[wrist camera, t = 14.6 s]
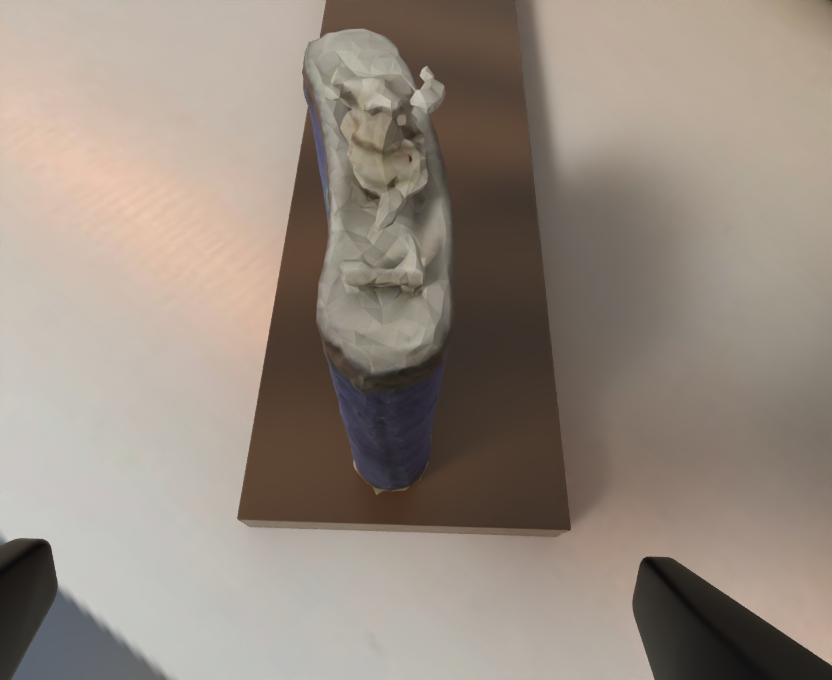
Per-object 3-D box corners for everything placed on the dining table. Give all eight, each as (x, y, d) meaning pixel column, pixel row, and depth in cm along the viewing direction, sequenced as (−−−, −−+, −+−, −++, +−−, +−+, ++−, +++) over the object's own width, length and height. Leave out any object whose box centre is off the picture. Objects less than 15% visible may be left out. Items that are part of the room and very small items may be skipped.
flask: (331, 254, 20) (284, -68, 11) (407, 248, 20) (429, -70, 11) (351, 501, 16) (305, 339, 6) (447, 489, 16) (536, 317, 7)
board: (557, 536, 17) (571, 530, 16) (248, 527, 17) (236, 519, 16) (497, -90, 36) (502, -118, 34) (349, -101, 35) (348, -129, 34)
